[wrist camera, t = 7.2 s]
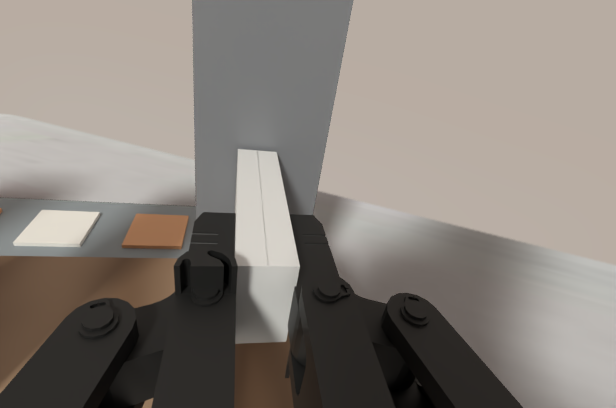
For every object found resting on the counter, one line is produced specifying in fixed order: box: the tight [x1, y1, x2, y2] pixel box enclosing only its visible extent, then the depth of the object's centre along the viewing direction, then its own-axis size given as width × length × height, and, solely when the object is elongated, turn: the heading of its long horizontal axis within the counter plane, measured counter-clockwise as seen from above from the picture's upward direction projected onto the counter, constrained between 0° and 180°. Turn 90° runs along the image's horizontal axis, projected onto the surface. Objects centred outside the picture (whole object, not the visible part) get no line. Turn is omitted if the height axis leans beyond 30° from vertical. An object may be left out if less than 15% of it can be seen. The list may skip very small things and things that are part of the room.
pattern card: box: [0, 198, 196, 258], centre depth 23 cm, size 18×7×1 cm, turn 99°
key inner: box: [192, 0, 353, 219], centre depth 15 cm, size 3×5×14 cm, turn 98°
